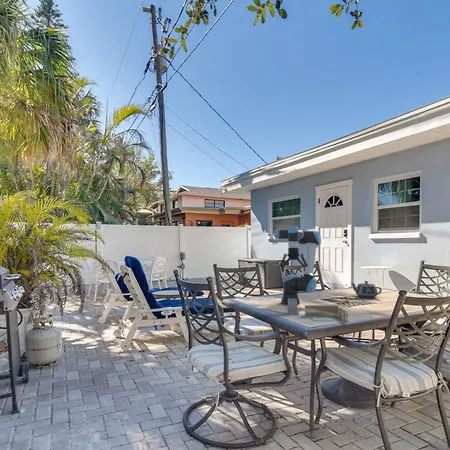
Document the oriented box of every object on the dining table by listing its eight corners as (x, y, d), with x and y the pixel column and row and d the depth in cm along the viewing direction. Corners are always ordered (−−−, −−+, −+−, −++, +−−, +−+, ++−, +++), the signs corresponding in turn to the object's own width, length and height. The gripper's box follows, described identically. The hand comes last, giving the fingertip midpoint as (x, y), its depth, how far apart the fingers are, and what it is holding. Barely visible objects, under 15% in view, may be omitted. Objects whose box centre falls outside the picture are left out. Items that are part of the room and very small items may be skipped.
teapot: (355, 293, 326) (355, 278, 327) (386, 298, 302) (386, 281, 303) (345, 295, 314) (344, 280, 315) (376, 300, 290) (376, 283, 291)
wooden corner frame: (304, 315, 233) (304, 305, 233) (338, 315, 232) (338, 305, 233) (311, 321, 215) (311, 310, 215) (348, 321, 214) (347, 310, 215)
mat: (310, 317, 226) (310, 316, 226) (329, 317, 226) (329, 317, 226) (314, 321, 216) (314, 320, 216) (333, 321, 216) (333, 320, 216)
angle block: (287, 311, 243) (287, 298, 244) (296, 311, 243) (295, 298, 244) (290, 314, 234) (290, 300, 235) (298, 314, 234) (298, 300, 235)
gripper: (277, 247, 239) (277, 276, 238) (311, 247, 239) (311, 276, 238) (275, 247, 246) (275, 275, 245) (308, 247, 247) (308, 275, 246)
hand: (293, 276), depth 242 cm, fingers open, 13 cm apart
